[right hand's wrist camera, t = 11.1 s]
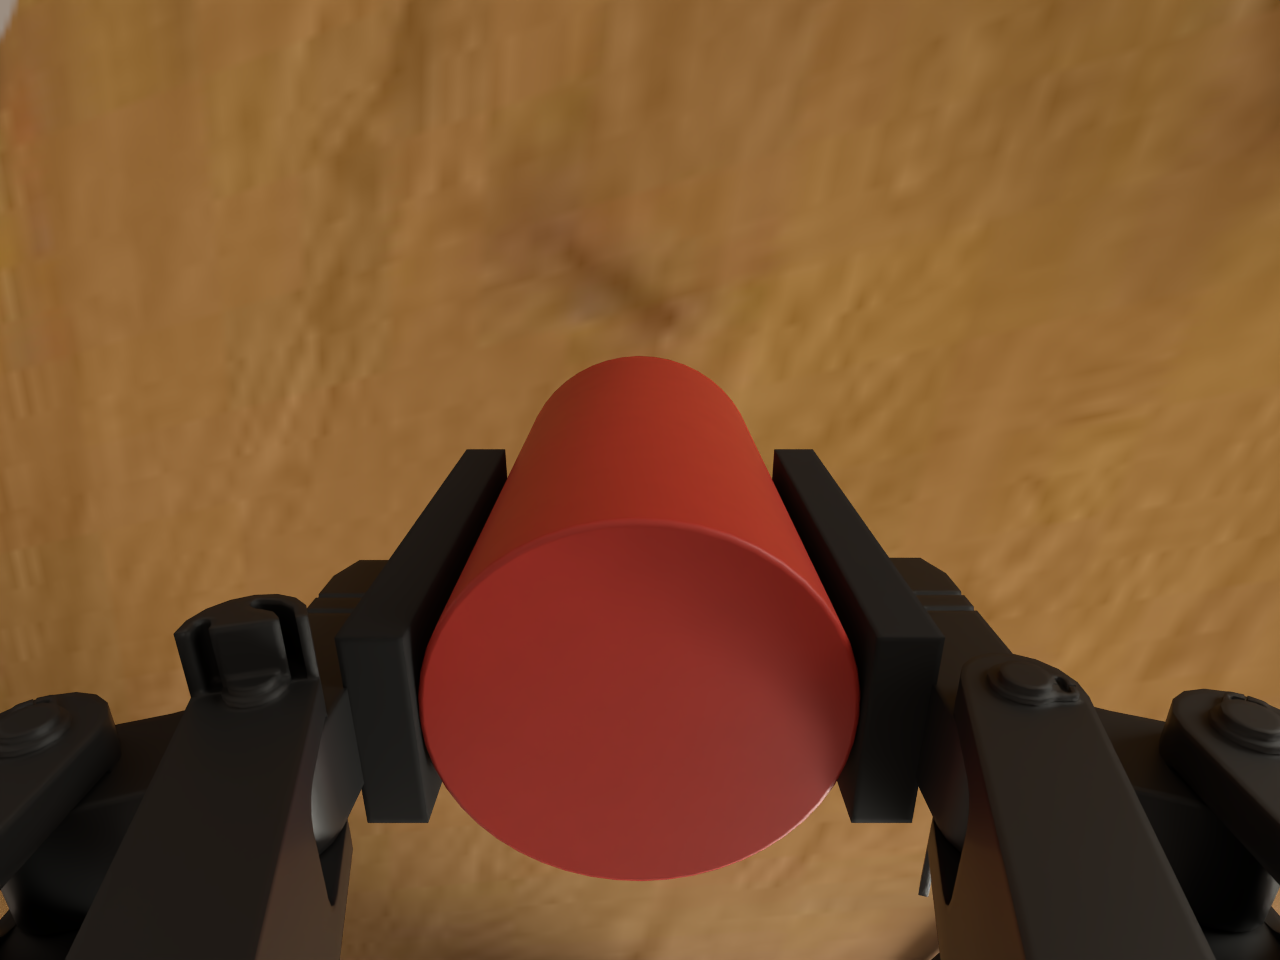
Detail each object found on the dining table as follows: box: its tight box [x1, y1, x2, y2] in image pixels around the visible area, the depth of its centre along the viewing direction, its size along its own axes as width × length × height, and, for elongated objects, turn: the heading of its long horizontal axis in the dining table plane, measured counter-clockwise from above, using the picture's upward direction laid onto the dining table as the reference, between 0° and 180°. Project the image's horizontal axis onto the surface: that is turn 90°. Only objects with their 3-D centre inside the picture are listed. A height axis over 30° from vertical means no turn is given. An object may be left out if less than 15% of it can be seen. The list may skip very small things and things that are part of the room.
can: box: [418, 356, 860, 881], centre depth 13 cm, size 5×5×9 cm
